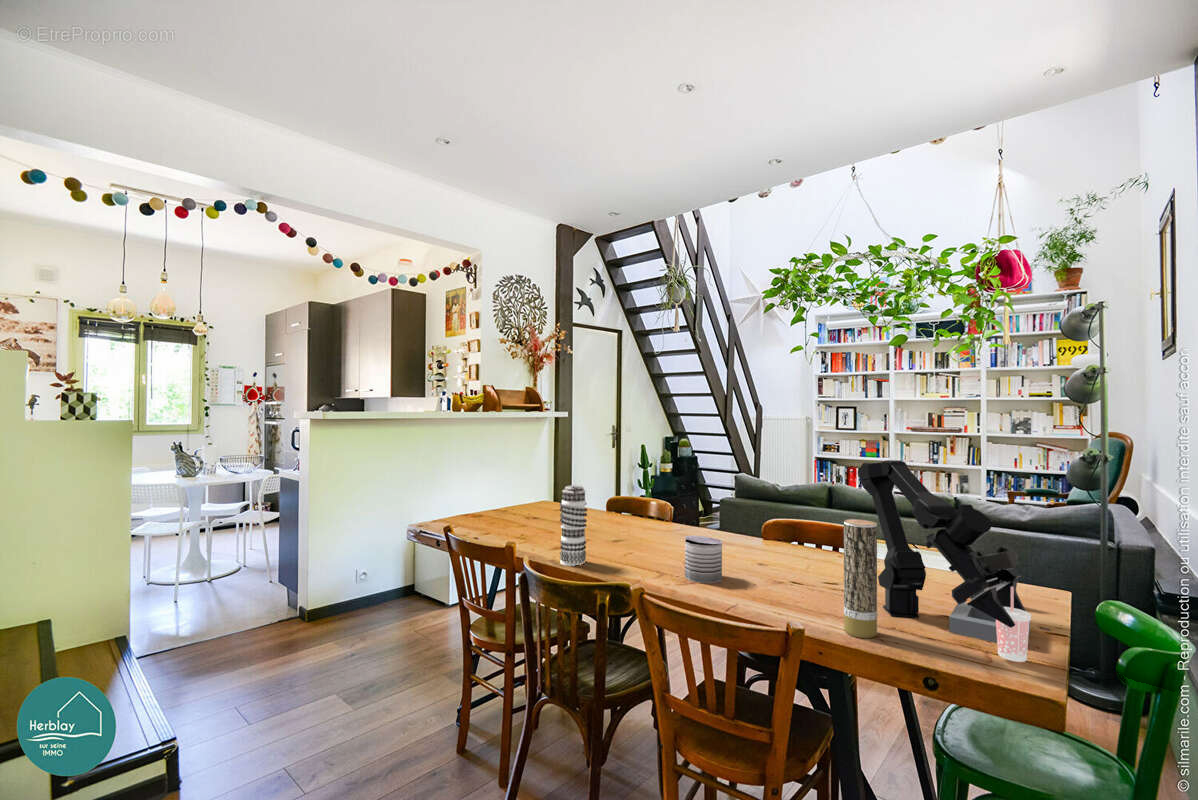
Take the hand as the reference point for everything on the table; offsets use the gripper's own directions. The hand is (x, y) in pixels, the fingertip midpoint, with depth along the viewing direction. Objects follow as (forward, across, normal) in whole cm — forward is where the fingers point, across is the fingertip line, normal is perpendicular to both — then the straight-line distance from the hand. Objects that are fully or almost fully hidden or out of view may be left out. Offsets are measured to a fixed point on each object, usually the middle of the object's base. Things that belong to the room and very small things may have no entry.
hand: (1020, 623), depth 111 cm
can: (-48, -13, +60) cm, 78 cm away
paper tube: (-12, -13, +24) cm, 30 cm away
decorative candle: (-72, -38, +85) cm, 118 cm away
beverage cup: (+4, 0, +6) cm, 7 cm away
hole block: (-2, +14, +14) cm, 20 cm away
